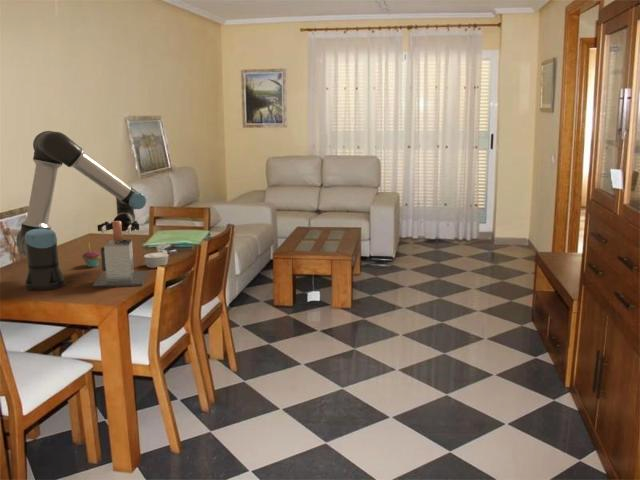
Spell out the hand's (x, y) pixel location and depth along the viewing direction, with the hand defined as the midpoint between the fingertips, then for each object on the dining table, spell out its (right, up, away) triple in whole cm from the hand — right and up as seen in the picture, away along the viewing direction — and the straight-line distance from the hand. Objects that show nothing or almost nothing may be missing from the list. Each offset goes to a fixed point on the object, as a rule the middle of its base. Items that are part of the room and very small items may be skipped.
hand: (115, 230), depth 254 cm
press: (-1, -21, +9) cm, 23 cm away
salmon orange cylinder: (-1, -20, +8) cm, 21 cm away
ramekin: (+8, -16, +35) cm, 39 cm away
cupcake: (-23, -16, +35) cm, 45 cm away
